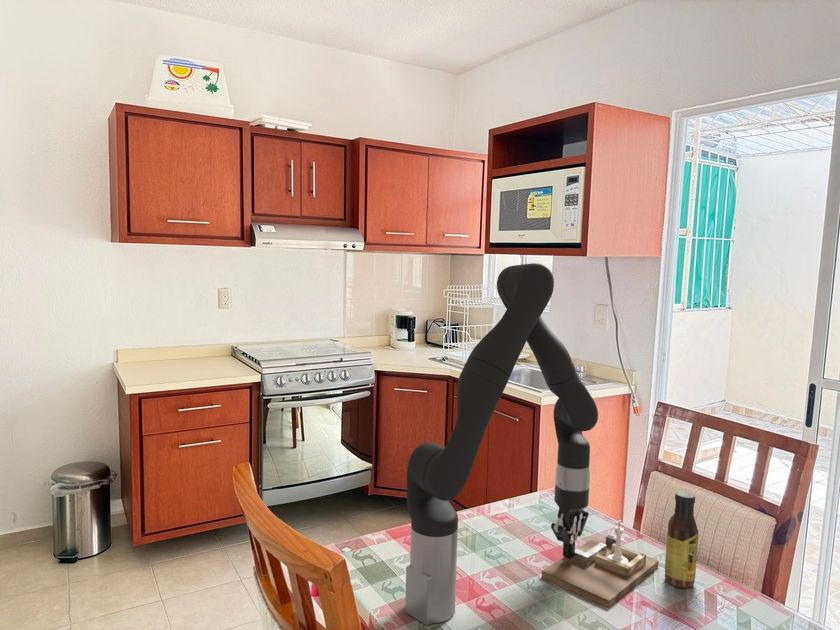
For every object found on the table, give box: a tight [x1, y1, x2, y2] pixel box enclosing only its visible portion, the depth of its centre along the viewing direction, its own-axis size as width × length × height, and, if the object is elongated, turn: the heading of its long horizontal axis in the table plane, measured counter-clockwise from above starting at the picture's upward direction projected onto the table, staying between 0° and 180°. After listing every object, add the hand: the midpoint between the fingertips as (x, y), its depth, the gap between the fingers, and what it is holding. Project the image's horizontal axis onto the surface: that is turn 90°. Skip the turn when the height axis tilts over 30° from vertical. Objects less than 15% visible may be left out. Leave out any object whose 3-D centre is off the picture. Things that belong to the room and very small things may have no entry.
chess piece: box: [607, 519, 629, 565], centre depth 137 cm, size 5×5×10 cm
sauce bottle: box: [664, 490, 699, 589], centre depth 132 cm, size 6×6×20 cm
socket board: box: [541, 534, 659, 608], centre depth 136 cm, size 24×16×4 cm, turn 135°
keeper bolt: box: [571, 543, 607, 566], centre depth 140 cm, size 9×6×2 cm, turn 135°
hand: (568, 556), depth 137 cm, fingers closed
